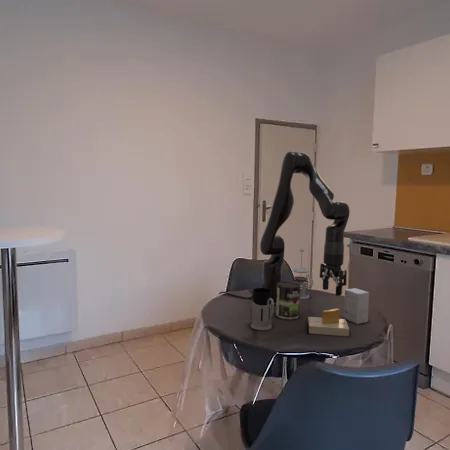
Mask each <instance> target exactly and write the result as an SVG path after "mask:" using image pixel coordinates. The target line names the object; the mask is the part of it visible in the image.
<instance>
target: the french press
mask: <svg viewBox="0 0 450 450" xmlns="http://www.w3.org/2000/svg"><path fill="white" fill-rule="evenodd" d="M299 251H300V252H301V254H300V255H301V260H300V267H296V268H294V269H293V272H294V273H298V274H306V276H302V275H300V276H295V277H293V281H292V282H294V283H298V284H300V300H306V299H310V295H309V289H310V288H311V287H313V284H314V283H313V276H312V275H310V274H309V272H310V270H309V269H307V268H306V267H303V266H302V263H303V262H302V261H303V252H304V249H303V248H301V249H300V250H299ZM307 273H308V274H307ZM308 278H309V280H308ZM309 283H310V284H309Z"/></svg>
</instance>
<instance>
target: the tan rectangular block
mask: <svg viewBox="0 0 450 450" xmlns="http://www.w3.org/2000/svg"><path fill="white" fill-rule="evenodd" d="M340 311H341V310H340V309H339V308H337V307H336V308H333V309H325V310H322V311H321V318H322V323H323V324H330V323H337V322H339V319H340Z"/></svg>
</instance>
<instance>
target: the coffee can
mask: <svg viewBox="0 0 450 450" xmlns="http://www.w3.org/2000/svg"><path fill="white" fill-rule="evenodd" d="M300 289H301V288H300V284H298V283H294V282H293V281H282V282H279V283H277V303H276V305H275V306H276V307H275V316H276V317H277V318H280V319H284V320H296V319H298V318H299V317H300V300H301V299H300V291H301V290H300Z"/></svg>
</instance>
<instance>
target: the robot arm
mask: <svg viewBox="0 0 450 450" xmlns="http://www.w3.org/2000/svg"><path fill="white" fill-rule="evenodd" d="M294 174H302V175H303V176H304V177H305V178H306V179H307V182H308V184H307V186H308V190H309V192H310V194H311V196H312V197H313V198H314V199H315V201H316V202H317V204H318V207H319V210H320V212H321V215H322V216H323V217H324V218H325V219H327V220H331V221H332V220H333V222H332V224H330V225H328V226H327V227H325V236H324V237H325V238H324V244H323V263H320V265H319V266H320V267H319V278H320V279H321V280H322V290H324V291H327V290H329V284H330V281H329V280H330V278H331V279H332V280H333V282H334V283H335V296H336V297H337V296H339V297H340V296H342V294H343V287H344V286H347V282H348V281H347V279H348V278H347V275H348V274H347V270H346V269H342V266H343V265H344V258H345V257H344V256H345V230H346V227H347V225H348V221H349V219H350V213H351V210H350V206H349V204H348V203H347V202H345V201H333V200H334V198H335V194H334V192H333V191H332V190H331V188H330V187H329V186H328V184H326V182H325V181H324V179H323V178H322V177H321V176H320V175H321V174H319V172H318V170H317V168H316V166H315V164H314V163H313V160H312V159H311V157H310V156H309V155H308V154H307V153H306V152H300V151H288V152H286V153H285V155H284V156H283V159H282V163H281V168H280V173H279V178H278V183H277V187H276V191H275V195H274V198H273V201H272V205H271V209H270V213H269V216H268V220H267V223H266V226H265V229H264V231H263V234H262V236H261V237H260V238H261V239H260V243H259V251H260V253H261V254H262V255H265V256H270V257H268V258H267V259H266V260H264V262H263V263H262V284H261V288H267V289H270V290H271V291H272V292H271V298H272V300H273V302H274V306H276V303H277V283H279V282H283V281H282V276H283V264H284V261H285V249H286V247H285V246H286V245H285V241H284V238H283V236H281V235H278V234H277V233H278V231H279V229H280V228H281V227H282V226H283V225H284V224H285V222H286V221H287V220H288V219H289V217H290V216H291V214H292V211H293V207H294V205H295V198H294V193H293V190H292V179H293V176H294ZM221 294H226V295H228V296H233V297H235V298H240V299H243V300H253V294H252V295H251V297H250V296H249V297H247V296H246V297H245V296H241V295H237V294H233V293H229V292H227V291H220V292H219V293H218V295H221ZM271 302H272V301H271Z"/></svg>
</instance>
